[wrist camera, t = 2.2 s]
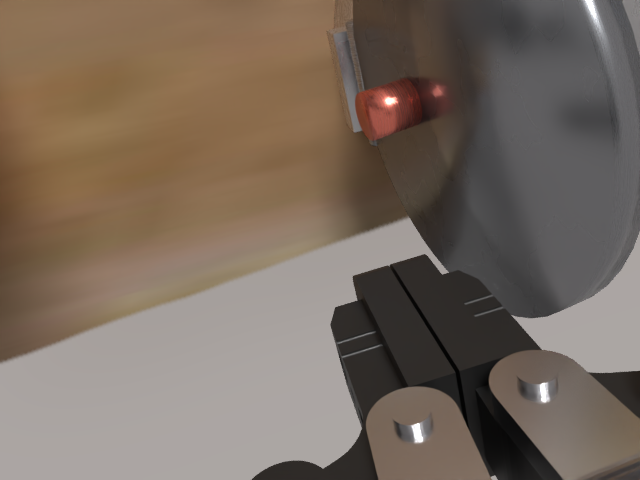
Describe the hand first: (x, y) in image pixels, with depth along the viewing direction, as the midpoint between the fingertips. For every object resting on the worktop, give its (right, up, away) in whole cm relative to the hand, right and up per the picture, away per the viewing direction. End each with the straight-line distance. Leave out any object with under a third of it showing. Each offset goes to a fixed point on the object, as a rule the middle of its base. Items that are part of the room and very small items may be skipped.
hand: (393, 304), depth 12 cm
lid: (+4, +8, +10) cm, 13 cm away
